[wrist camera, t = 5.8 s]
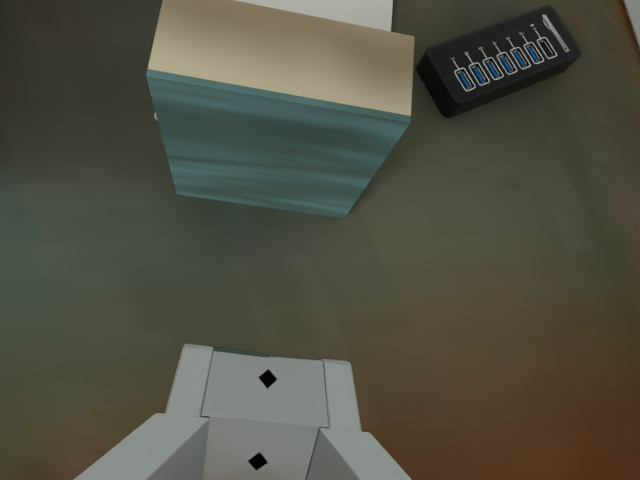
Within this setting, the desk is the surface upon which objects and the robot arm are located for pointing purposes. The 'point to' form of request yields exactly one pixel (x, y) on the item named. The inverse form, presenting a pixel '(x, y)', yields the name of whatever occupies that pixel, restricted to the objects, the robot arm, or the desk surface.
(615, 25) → the desk surface
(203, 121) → the beige rectangular block
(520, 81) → the multiport hub
